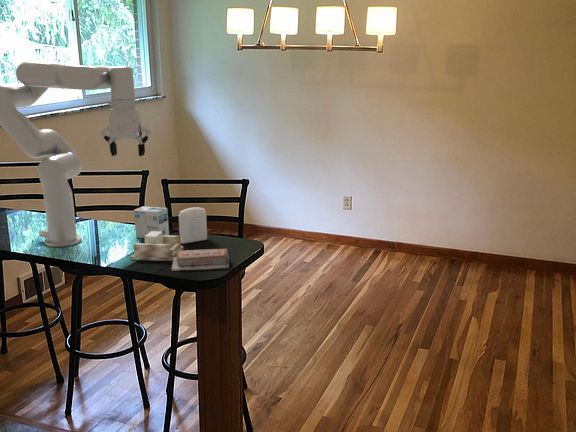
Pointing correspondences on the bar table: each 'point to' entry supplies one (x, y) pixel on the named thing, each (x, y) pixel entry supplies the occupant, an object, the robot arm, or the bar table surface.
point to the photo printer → (192, 225)
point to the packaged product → (201, 259)
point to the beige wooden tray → (158, 249)
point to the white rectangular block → (154, 237)
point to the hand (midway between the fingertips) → (127, 155)
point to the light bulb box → (150, 220)
